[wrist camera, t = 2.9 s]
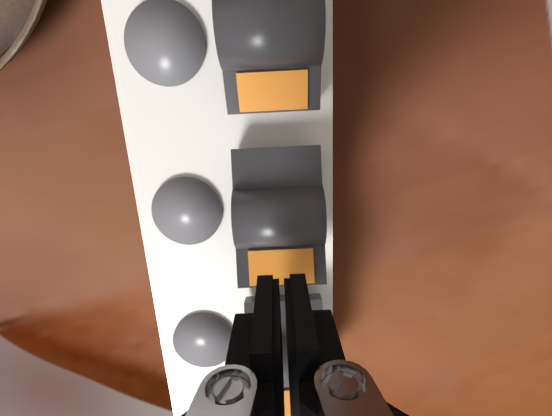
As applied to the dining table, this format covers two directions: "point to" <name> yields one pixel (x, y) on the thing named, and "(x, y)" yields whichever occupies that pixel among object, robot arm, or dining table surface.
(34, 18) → the plant saucer
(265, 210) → the switch middle
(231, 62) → the switch
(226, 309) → the power strip
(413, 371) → the dining table surface
